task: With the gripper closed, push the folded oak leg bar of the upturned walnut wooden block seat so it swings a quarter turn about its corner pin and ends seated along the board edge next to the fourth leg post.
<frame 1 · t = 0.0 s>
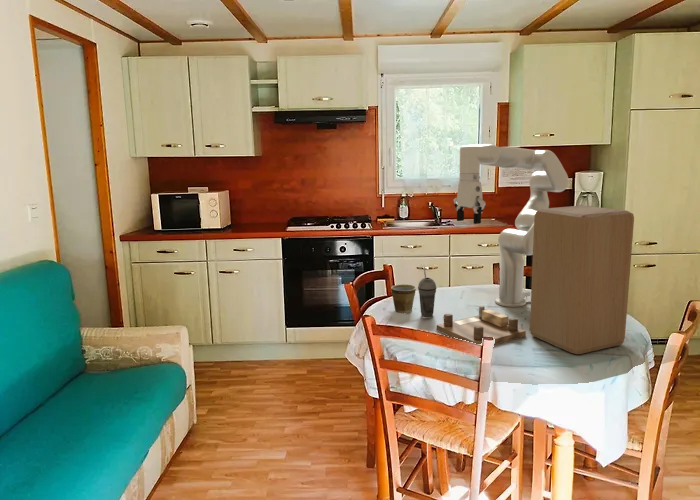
hand: (468, 222, 211), 37 cm above the table, tool pointing down, fingers open, 9 cm apart
ceramic cup: (401, 310, 224), on the table
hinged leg: (494, 317, 199), point 4 cm above the table, hinge at 90.0°
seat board: (479, 333, 195), on the table
wooden block: (575, 341, 185), on the table
beverage cup: (427, 316, 215), on the table
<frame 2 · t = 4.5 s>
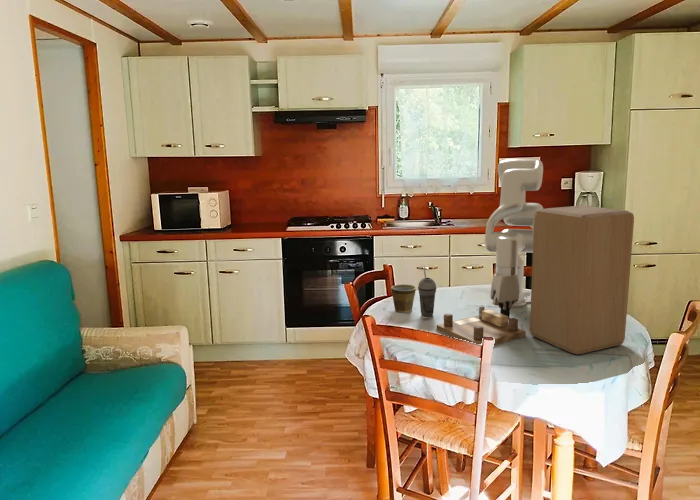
hand: (504, 318, 199), 3 cm above the table, tool pointing down, fingers closed
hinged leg: (494, 317, 199), point 4 cm above the table, hinge at 89.7°, touching gripper
everything else where it was.
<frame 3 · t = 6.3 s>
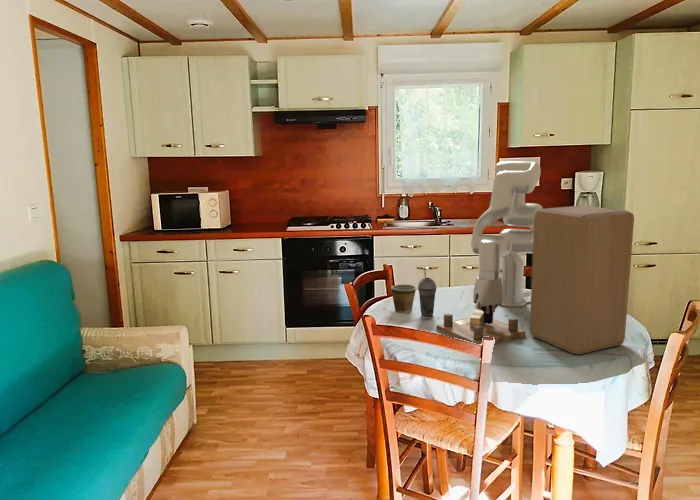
hand: (488, 322, 197), 3 cm above the table, tool pointing down, fingers closed
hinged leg: (477, 318, 199), point 4 cm above the table, hinge at 35.7°, touching gripper
everything else where it was.
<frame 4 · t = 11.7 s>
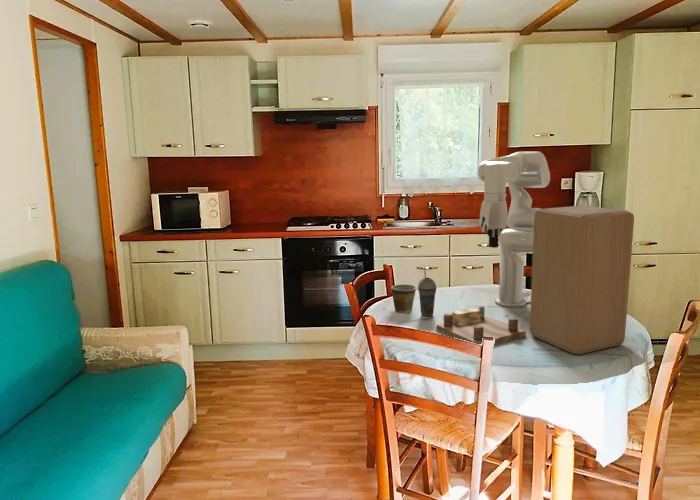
hand: (493, 246, 201), 29 cm above the table, tool pointing down, fingers closed
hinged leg: (466, 315, 202), point 4 cm above the table, hinge at -5.9°
everything else where it was.
at the end: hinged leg at -6° (first picture: +90°) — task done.
